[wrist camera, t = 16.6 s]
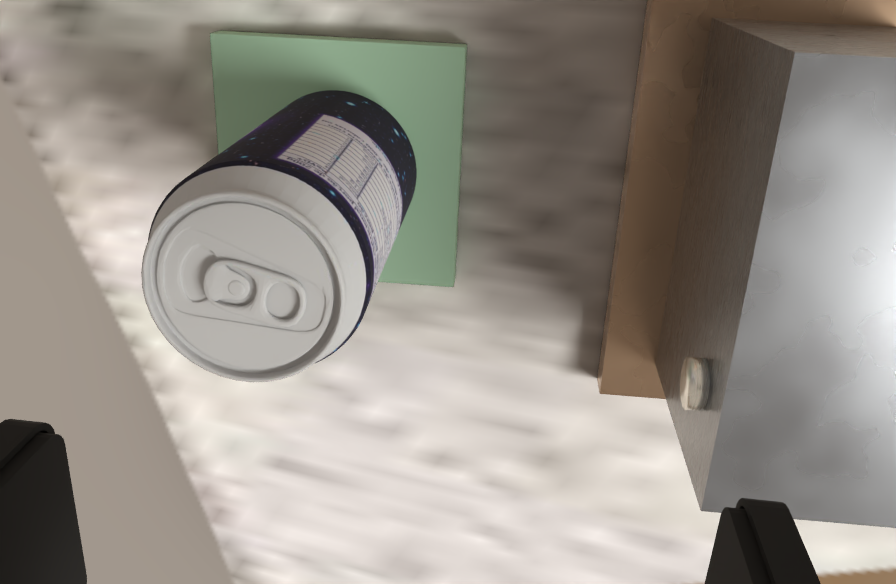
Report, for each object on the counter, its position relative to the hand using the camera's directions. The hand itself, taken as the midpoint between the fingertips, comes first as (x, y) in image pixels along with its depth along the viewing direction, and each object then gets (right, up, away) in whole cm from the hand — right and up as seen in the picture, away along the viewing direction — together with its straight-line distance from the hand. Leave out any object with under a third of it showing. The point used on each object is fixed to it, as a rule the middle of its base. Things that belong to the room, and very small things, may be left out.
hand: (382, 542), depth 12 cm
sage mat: (-3, +9, +20) cm, 22 cm away
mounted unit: (+12, +7, +19) cm, 24 cm away
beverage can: (-3, +8, +19) cm, 21 cm away
